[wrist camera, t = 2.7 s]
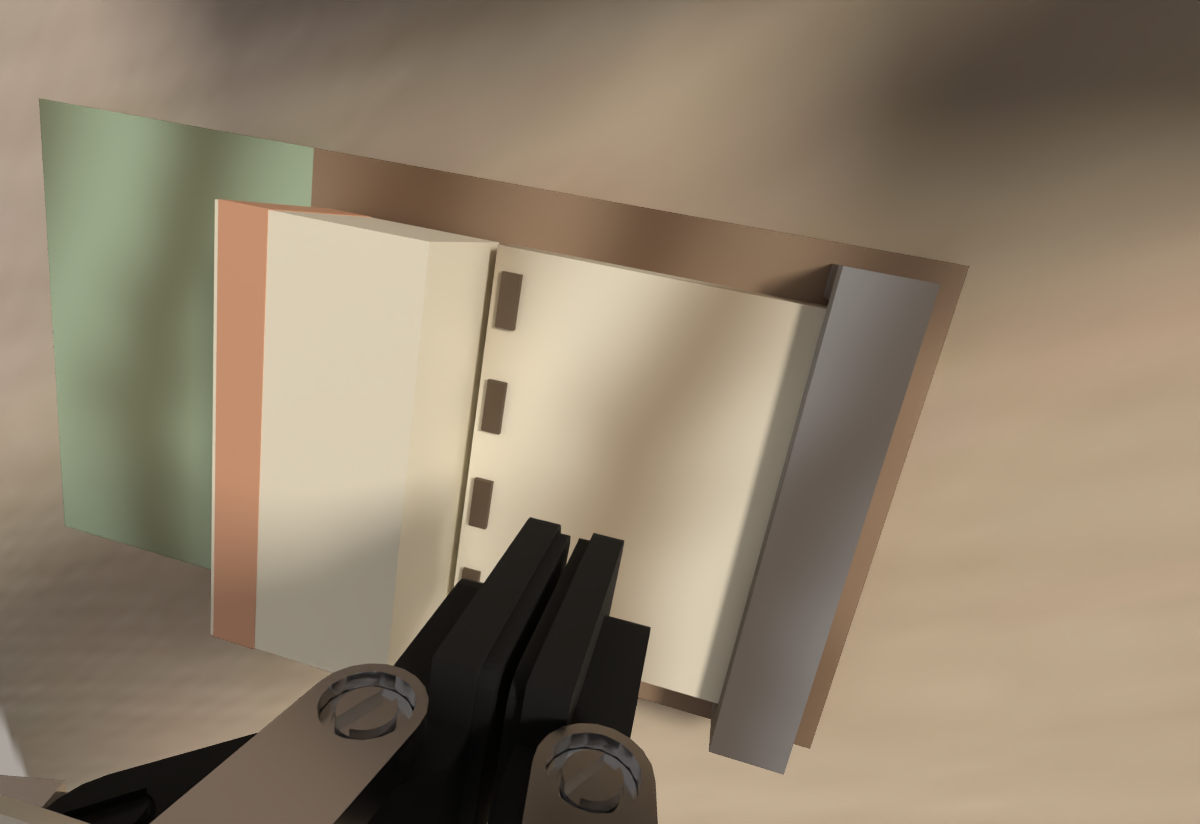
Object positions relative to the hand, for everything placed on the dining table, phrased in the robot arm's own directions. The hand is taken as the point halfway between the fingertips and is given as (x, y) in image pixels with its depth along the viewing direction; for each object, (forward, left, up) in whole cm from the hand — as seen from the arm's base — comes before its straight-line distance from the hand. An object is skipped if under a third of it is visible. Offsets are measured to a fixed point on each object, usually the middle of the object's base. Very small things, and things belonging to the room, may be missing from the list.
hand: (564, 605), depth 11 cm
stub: (+7, 0, -7) cm, 10 cm away
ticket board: (+6, 0, -8) cm, 10 cm away
